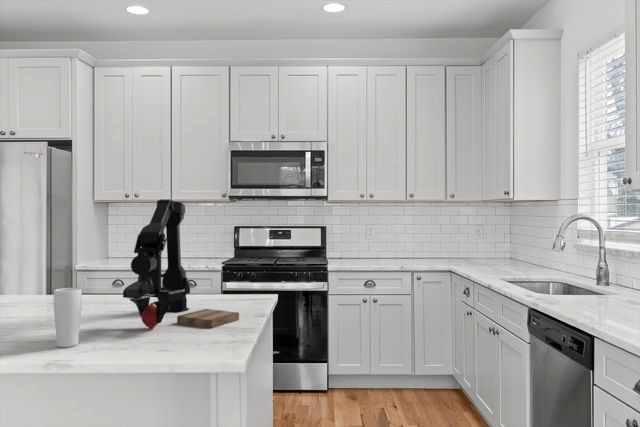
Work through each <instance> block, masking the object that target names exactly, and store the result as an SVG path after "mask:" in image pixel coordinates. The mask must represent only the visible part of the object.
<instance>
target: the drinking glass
mask: <svg viewBox="0 0 640 427" xmlns="http://www.w3.org/2000/svg"><path fill="white" fill-rule="evenodd" d="M82 296H83V295H82V288H80V287H65V288H64V287H63V288H57V289H54V290H53V300H52V302H53V315H54V324H55V336H56V337H55V338H56V341H55V342H56V346H57V347H58V348H61V349H62V348H72V347H75V346H77V345H78V344H79V342H80V327H81V315H82V314H81V313H82V305H83V304H82V302H83V300H82V298H83V297H82Z"/></svg>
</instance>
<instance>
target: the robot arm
mask: <svg viewBox="0 0 640 427" xmlns="http://www.w3.org/2000/svg"><path fill="white" fill-rule="evenodd" d="M185 213H186V206H185V204H183V202H181V201H175V200H173V199H164V198H163V199H158V200H157V201H156V207H155V210H154V212H153V215H152V217H151V219H150V221H149V224H147V225H145V226H143V228H142V229H141V230H140V232H139V234H137V237H136V243H135V246H134V250H133V253H134V254H137V256H134V258H133V259H132V260H131V261H130V262H131V263H130V269H131V270H132V272H133V273H134V274H135V275H138V276H137V280H136V281H134V282H133V283H131V284H129V285H127V286H126V287H125V288H124V290H123V291H122V298H126V299H129V301H131V303H133V304H135V306H136V308H137V309H138V313H139V315H140V319H141V320H142V318H141V317H142V313H143V311H144V310H145V309H146V308H147V307H148V306H149V305H150V301H151V298H157V300H156V301H153V303H154V306H156V311H157V323H158V324H161V323H162V321H163V319H164V317H165V315H166V313H167V312H172V313H179V312H184V311H188V310H190V308H189V307H187V306H188V304H187V302H188V299H187V298H188V297H187V295H188V294H191V286H190V281H189V278H188V277H187V271H186V270H185V268H184V267H183V266H182V260H181V259H182V258H181V256H182V255H181V234H180V232H181V230H180V226H181V223H183V220H184V218H185ZM165 230H166V231H165ZM165 232H166V234H165ZM165 247H166V253H167V255H166V257H167V268H166V270H165V271H164V273H162V253H163V251H164V250H165Z"/></svg>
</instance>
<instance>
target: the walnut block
mask: <svg viewBox="0 0 640 427" xmlns="http://www.w3.org/2000/svg"><path fill="white" fill-rule="evenodd" d="M176 316H177V317H176V320H177V321H176V324H177V325H182V326H183V325H184V326H191V327H197V328H199V327H200V328H207V329H215V328H218V327H220V326H224V324H225V325H228V324H230V323H234V322H237V321H239V320H240V312H237V311H230V310H221V309H220V310H219V309H209V308H204V309H200V310H197V311H193V312H188V313H184V314H180V315H176Z"/></svg>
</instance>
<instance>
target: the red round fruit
mask: <svg viewBox="0 0 640 427" xmlns="http://www.w3.org/2000/svg"><path fill="white" fill-rule="evenodd" d="M153 302H154V301H153ZM153 302H152V301H151V303H150V302H149V306H148V307H147V308H146V309H145V310H144V311H143V313H142V317H141V316H140V319H141V318H142V319H141V321H142V323H143V324H144V326H145V327H147V328H149V329H150V330H151V329H154V328H155V327H156V326H157V325H159V323H157V311H156V305H155V304H154V303H153Z"/></svg>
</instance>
